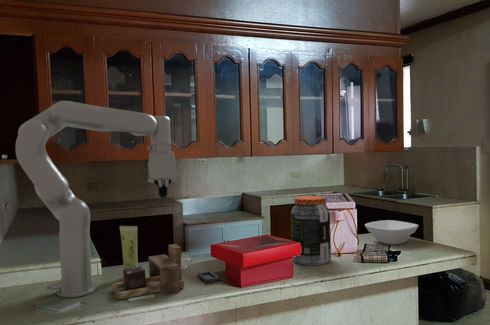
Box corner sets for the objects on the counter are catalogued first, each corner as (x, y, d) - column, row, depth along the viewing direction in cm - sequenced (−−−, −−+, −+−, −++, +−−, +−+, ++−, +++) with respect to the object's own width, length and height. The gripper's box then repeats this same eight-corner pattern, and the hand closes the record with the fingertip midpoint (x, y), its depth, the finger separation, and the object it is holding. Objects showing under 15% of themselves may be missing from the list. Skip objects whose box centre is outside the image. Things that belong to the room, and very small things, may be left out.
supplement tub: (339, 263, 168) (337, 198, 167) (304, 268, 163) (302, 201, 161) (318, 253, 183) (316, 194, 182) (285, 258, 177) (283, 196, 176)
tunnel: (161, 295, 138) (160, 268, 138) (149, 281, 153) (148, 256, 152) (179, 292, 141) (178, 265, 140) (165, 278, 155) (164, 254, 155)
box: (141, 286, 148) (140, 265, 147) (146, 291, 142) (145, 270, 142) (123, 290, 145) (122, 268, 144) (128, 295, 139) (127, 273, 139)
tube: (123, 281, 154) (121, 227, 153) (121, 277, 158) (119, 225, 157) (139, 278, 156) (137, 226, 155) (137, 275, 161) (134, 223, 160)
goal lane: (129, 302, 133) (129, 300, 133) (119, 286, 148) (119, 284, 148) (154, 297, 136) (154, 295, 136) (142, 282, 152) (142, 280, 152)
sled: (117, 299, 134) (115, 258, 134) (111, 289, 144) (110, 251, 144) (184, 286, 144) (182, 249, 144) (174, 278, 154) (173, 242, 153)
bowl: (359, 242, 202) (359, 224, 202) (387, 235, 213) (387, 219, 213) (395, 250, 185) (395, 231, 184) (424, 243, 196) (424, 225, 196)
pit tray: (206, 283, 149) (206, 279, 149) (197, 276, 157) (197, 273, 157) (219, 280, 151) (219, 277, 151) (210, 274, 159) (210, 270, 159)
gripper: (143, 149, 153) (145, 200, 154) (183, 148, 160) (185, 196, 161) (139, 149, 160) (141, 198, 161) (177, 148, 167) (179, 194, 168)
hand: (163, 197), depth 161 cm, fingers closed
